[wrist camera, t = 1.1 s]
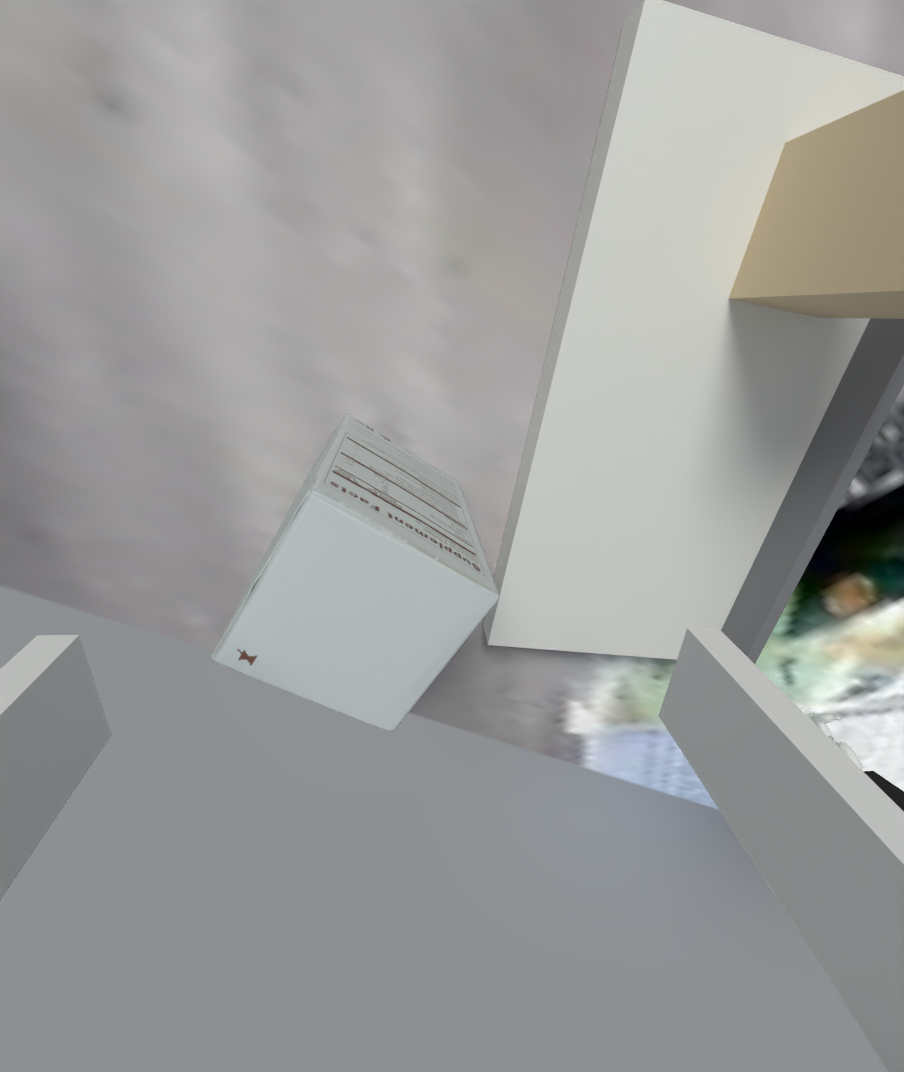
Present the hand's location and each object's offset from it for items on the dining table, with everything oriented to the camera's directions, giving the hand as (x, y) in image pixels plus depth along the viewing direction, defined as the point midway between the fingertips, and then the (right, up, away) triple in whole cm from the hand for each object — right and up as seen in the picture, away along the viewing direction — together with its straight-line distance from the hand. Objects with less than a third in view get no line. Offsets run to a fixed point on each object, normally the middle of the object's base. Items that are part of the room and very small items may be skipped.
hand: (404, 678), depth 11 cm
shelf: (+13, +10, +16) cm, 23 cm away
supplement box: (-3, +5, +17) cm, 18 cm away
